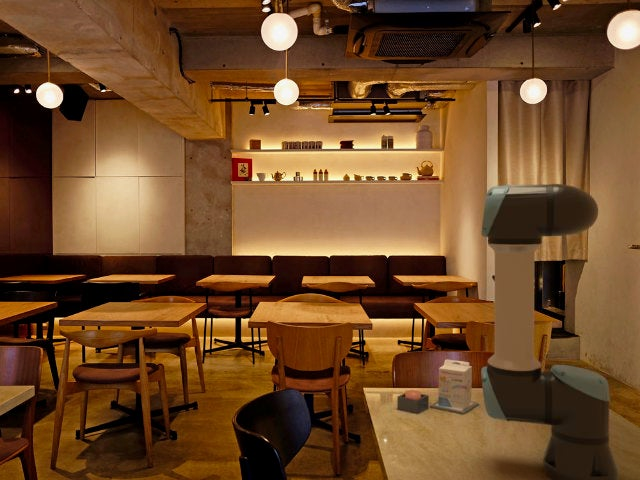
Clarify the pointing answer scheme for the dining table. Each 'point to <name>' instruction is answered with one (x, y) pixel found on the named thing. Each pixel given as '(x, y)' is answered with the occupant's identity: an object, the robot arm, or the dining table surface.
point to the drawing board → (455, 410)
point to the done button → (413, 394)
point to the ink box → (455, 384)
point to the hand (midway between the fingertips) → (513, 328)
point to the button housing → (413, 404)
